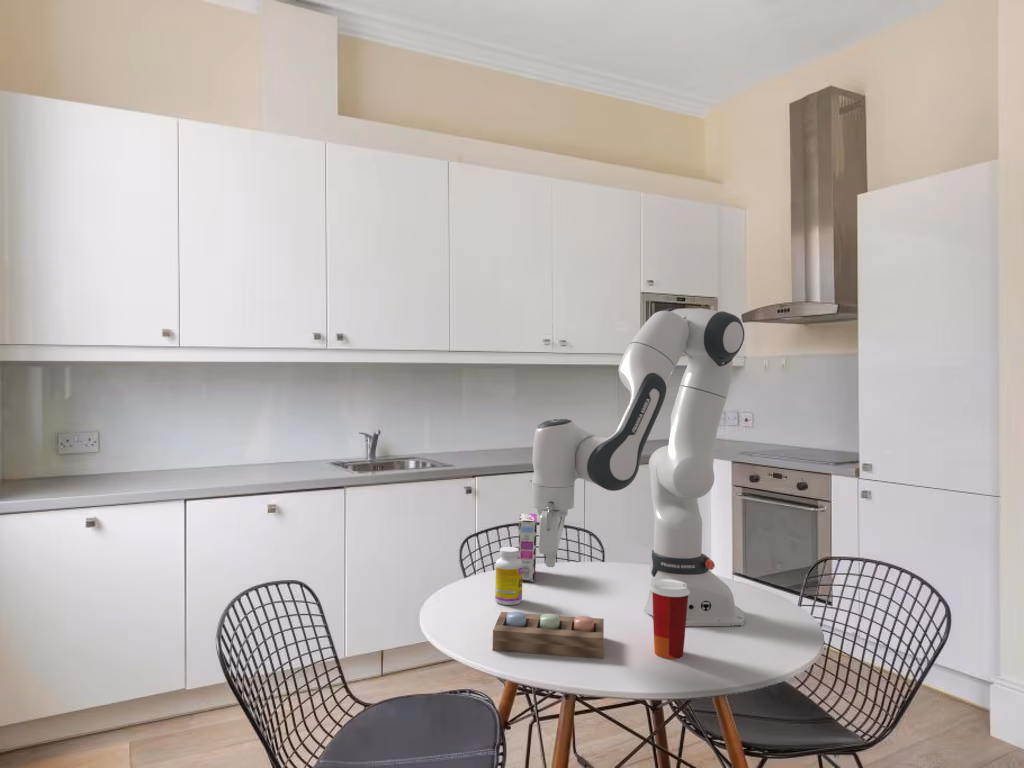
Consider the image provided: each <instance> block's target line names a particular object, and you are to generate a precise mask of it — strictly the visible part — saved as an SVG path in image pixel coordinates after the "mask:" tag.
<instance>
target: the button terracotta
mask: <svg viewBox="0 0 1024 768" xmlns="http://www.w3.org/2000/svg"><path fill="white" fill-rule="evenodd" d="M574 617H575V618H574V631H587V632H594V619H593V618H594V617H591V616H585V615H578V616H574Z"/></svg>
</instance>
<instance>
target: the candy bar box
mask: <svg viewBox="0 0 1024 768" xmlns="http://www.w3.org/2000/svg"><path fill="white" fill-rule="evenodd" d="M537 515H538V514H537V513H525V512H524V513H520V514H519V518H518V519H519V520H518V544H517V545H518V549H519V555H518V559H520V560H521V561H522V563H523V570H522V583H523V582H524V583H525V582H526V583H527V582H528V583H534V582H536V581H535V579H536V565H537V564H536V563H537V562H536V561H537V535H538V534H537V533H538V530H537V529H538V526H537V525H538V522H537V518H538V517H537Z"/></svg>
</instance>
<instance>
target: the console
mask: <svg viewBox="0 0 1024 768" xmlns="http://www.w3.org/2000/svg"><path fill="white" fill-rule="evenodd" d="M507 613H509V611H501V612H500V613H499V616H498V618H497V620H496V623H495V625H494V627H493V629H492V651H496V652H497V651H499V652H510V653H511V652H512V653H524V654H525V653H526V654H535V655H537V654H538V655H540V654H541V655H550V656H551V655H552V656H565V657H579V658H590V659H604V634H605V633H604V628H605V627H604V623H605V619H604V618H597V617H592V618H593V619H594V632H587V631H574V618H575V617H576V616H570V615H569V616H568V615H558V616H559V617H560V627H559V629H545V628H540V616H541V615H542V614H539V613H527V612H526V613H525V612H524V613H525V614H526V627H516V626H507Z"/></svg>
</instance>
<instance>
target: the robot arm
mask: <svg viewBox="0 0 1024 768" xmlns="http://www.w3.org/2000/svg"><path fill="white" fill-rule="evenodd" d="M744 340H745V329H744V326H743V322H742V321H741V319H740V318H739V317H738V316H736V315H735V314H733V313H730V312H727V311H723V310H722V311H717V310H713V309H709V308H701V307H700V308H699V307H698V308H692V307H691V308H688V307H686V308H684V307H683V308H681V307H679V306H678V307H677V306H676V307H669V308H667V309H666V308H665V309H663V310H660V311H656V312H655V313H653V314H652V315H651V316H650V317H649V318H648V319H647V320H646V321H645V323H644V324H643V325H642V326H641V328H640V329H639V330H638V331H637V333H636V334H635V335H634V337H633V338H632V340H631V342H630V343H629V344H628V346H627V348H626V350H625V351H624V353H623V355H622V357H621V359H620V362H619V365H618V376H619V378H620V381H621V383H622V384H623V386H624V387H625V388H626V389H627V390H628V391H629V393H630V399H629V403H628V404H627V408H626V410H625V411H624V414H623V416H622V418H621V420H620V423H619V424H618V426H617V428H616V430H615V432H614V433H613V434H612V435H610V436H608V437H602V436H599V435H596V434H593V433H591V432H588V431H586V430H584V429H582V428H581V427H579V426H578V425H576V424H575V423H574V422H573V420H570V419H567V418H559V419H556V418H555V419H550V420H546V421H543V422H542V423H540V424H539V425H538V426H537V427H536V429H535V432H534V435H533V436H534V437H533V445H532V457H531V458H532V459H531V462H532V466H533V476H532V479H531V491H530V492H531V495H530V496H531V498H530V505H531V507H532V508H534V509H536V515H538V516H540V519H539V526H538V529H539V531H538V552H539V553H540V554H542V555H545V566H546V567H548V568H554V567H555V566H556V561H557V553H558V549H559V546H560V542H561V539H562V535H563V531H564V527H565V521H566V517H568V513H569V511H568V510H571V509H574V508H575V483H576V480H577V479H580V480H583V481H585V482H587V483H588V482H589V483H592V484H595V485H597V486H599V487H601V488H602V489H605V490H607V491H611V492H612V491H614V492H615V491H621V490H623V489H625V488H627V487H628V486H630V485H631V484H632V482H633V481H634V480H635V478H636V477H637V474H638V472H639V468H640V465H641V459H642V454H643V451H644V448H645V446H646V443H647V441H648V438H649V436H650V434H651V431H652V429H653V428H654V425H655V422H656V420H657V418H658V416H659V413H660V412H661V409H662V406H663V405H664V402H665V398H666V396H667V384H668V382H669V379H670V378H671V375H672V374H673V372H674V370H675V369H676V367H677V365H678V363H679V362H680V359H681V357H682V355H683V356H687V359H688V364H687V366H686V368H685V371H684V373H683V376H682V379H681V381H680V384H679V388H678V390H677V395H676V398H675V401H674V404H673V407H672V411H671V414H670V431H669V440H668V445H664V446H661V447H659V448H657V449H656V450H654V452H652V454H651V456H650V457H649V460H648V470H649V476H650V477H649V478H650V490H651V491H650V492H651V501H652V508H653V550H651V556H650V572H651V582H650V586H649V587H650V588H651V587H652V584H654V582H655V581H657V580H662V579H669V580H677V581H681V582H684V583H685V584H686V585H687V587H688V590H689V591H690V594H689V595H688V603H687V615H686V627H735V626H734V625H741V626H743V625H744V624H745V623H744V621H745V622H746V618H745V617H746V616H745V613H744V611H743V610H742V609H741V608H740V607H739V606H737V605H736V604H735V598H734V594H733V592H732V590H731V588H730V586H728V585H727V584H726V582H724V581H723V580H721V578H719V577H718V576H716V574H715V573H713V572H712V571H711V570H714V569H715V566H716V565H715V563H714V561H713V560H712V559H711V558H710V557H709V556H707V555H706V554H704V553H702V547H703V519H702V516H701V512H700V507H699V502H698V500H699V498H702V497H704V496H705V495H707V494H709V492H710V491H711V490H712V488H713V486H714V482H715V471H714V462H715V453H716V443H717V441H716V440H717V434H718V430H719V429H718V428H719V425H720V423H721V422H720V421H721V420H722V419H721V418H722V415H723V411H724V408H725V405H726V402H727V399H728V395H729V390H730V385H731V382H732V374H733V365H734V363H733V359H734V358H735V357H736V356H737V354H738V353H739V352H740V350H741V348H742V346H743V343H744ZM650 588H649V593H648V598H647V601H646V604H645V608H644V610H645V612H646V613H647V614H649V615H650V616H652V617H653V596H652V591H651V590H650ZM743 623H744V624H743ZM742 624H743V625H742ZM731 625H732V626H731Z"/></svg>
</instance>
